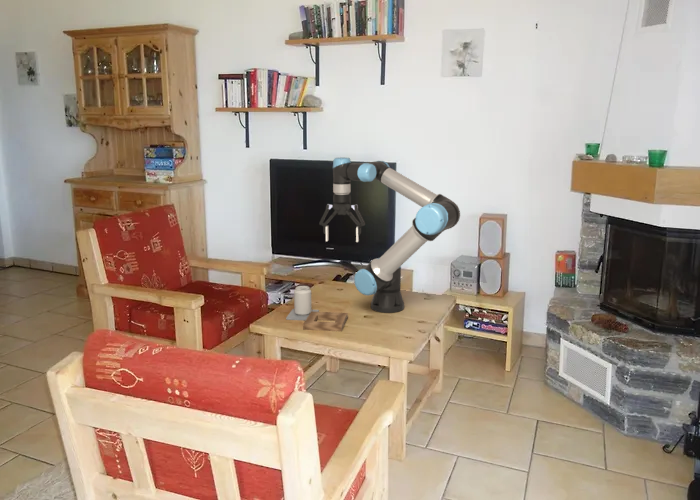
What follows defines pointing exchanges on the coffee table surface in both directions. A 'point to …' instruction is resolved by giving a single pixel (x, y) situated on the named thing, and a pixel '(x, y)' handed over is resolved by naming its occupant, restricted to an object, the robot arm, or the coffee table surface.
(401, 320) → the coffee table surface
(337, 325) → the pocket block
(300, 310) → the can
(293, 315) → the plate
